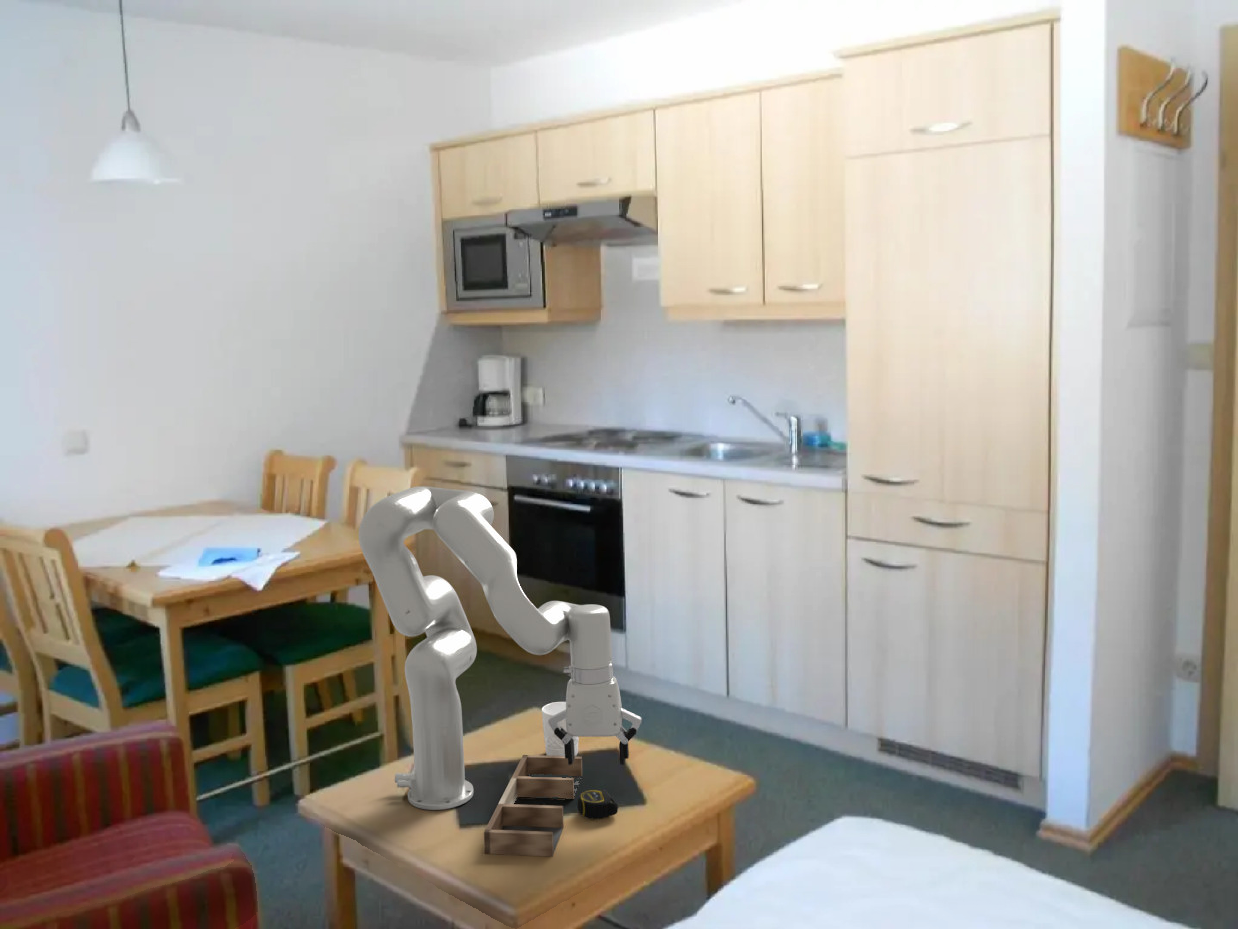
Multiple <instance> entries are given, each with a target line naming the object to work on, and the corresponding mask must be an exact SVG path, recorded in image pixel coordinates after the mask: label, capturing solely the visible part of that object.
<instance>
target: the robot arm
mask: <svg viewBox="0 0 1238 929" xmlns="http://www.w3.org/2000/svg"><path fill="white" fill-rule="evenodd" d="M494 520H495V513H494V508H493V506H492V504H491V501H489V500H488V498H486V497H485V496H484V495H482V494H480V493H478V492H475V491H471V490H462V489H452V488H451V489H450V488H444V487H434V486H433V487H432V486H424V485H422V486H414V487H410V488H406V489H404V490H402V491H399V492H396V493H393V494H390V495H388V496H386V497H384V498H381V499H379V501H377V502H375V503H374V504H373V505H372V506H371V507H370V508H368V510H367V511H366V513H365V514H364V516H363V517H362V519H361V521H360V523H359V527H358V544H359V547H360V549H361V552H362V555H363V557H364V559H365V561H366V563H367V565H368V567H369V569H370V571H371V573H372V576H373V577H374V581H375V584H376V586H377V589H378V591H379V593H380V596H381V598H382V601H383V604H384V606H385V608H386V611H387V613H388V615H389V619H390V621H391V623H392V624H393V626H394V628H395V630H396V631H397V632H398V633H399V634H401V635H403V636H405V637H418V636H420V635H421V634H424V633H425V635H426V638H425V639H423V640H422V641H420V642H418V643H417V644H416V645H415V646H413V648H412V649H411V650H410V652H409V653H408V655H407V656H406V660H405V663H404V676H405V681H406V686H407V689H408V693H409V694H408V695H409V702H410V711H411V714H410V715H411V723H412V742H413V743H412V744H413V745H412V746H413V758H414V759H413V763H414V766H413V767H414V771H412V772H411V773H405V772H396V773H395V775H394V782H395V783H394V784H396V787H397V788H408V789H409V790H408V792H407V800H408V802H409V804H411V805H412V806H414V807H415V808H418V809H421V810H426V811H427V810H428V811H438V810H439V811H440V810H441V811H442V810H448V809H452V808H456V807H459V806H461V805H463V804H465V803H467V802H469V801H470V800H471V799H472V798H473V796H474V786H473V784H472V783H471V782H469V781H468V780H466V779H465V778H466V776H465V773H466V772H465V755H464V754H465V752H464V735H463V734H464V732H463V730H464V729H463V728H464V727H463V715H462V714H463V713H462V703H461V702H462V701H461V699H460V698H461V697H460V694H459V691H458V689H457V685H456V684H457V683H456V680H457V678H458V677H460V676H461V675H462V674H463V673H464V672H465V671H466V670H468V669H469V668H470V667H471V666H472V665H473V663H474V662H475V660H476V657H477V652H478V648H477V642H476V637H475V636H474V633H473V631H472V627H471V625H470V622H469V621H468V617H467V615H466V612H465V609H464V607H463V605H462V602H461V601H460V598H459V595H458V594H457V592H456V589H454V587H453V586H452V585H451V583H450V582H448V580H446V579H444V578H443V577H441V576H438V575H435V574H434V575H423V573H422V570H421V569H420V566H419V564H418V561H417V559H416V557H415V556H414V554H413V553H412V551H411V550H410V549H409V548H408V547H407V546H406V545H405V540H406V539H407V538H409V537H411V536H413V535H416V534H417V533H419V532H422V531H424V530H434V531H435V534H436V535H437V537H438V538H439V540H441V541H442V543H444V545H446V547H447V548H448V549H449V550H450V551H451V552H452V554H453V555H455V557H456V558H457V560H459V561H460V562H461V563H462V564H463V566H465V568H466V569H467V570H469V572H470V573H471V574H472V576H474V577H475V579H476V580H477V581H478V582H479V583H480V585H481V587H482V590H483V592H484V597H485V599H486V601H487V603H488V605H489V608H490V610H491V612H492V614H493V617H494V618H495V620H496V621H497V623H498V624H499V626H501V628H502V629H503V630H504V631H505V632H506V633H507V634H508V635H509V637H510V638H512V640H513V641H514V642H515V643H516V644H517V645H518V646H519V647H521V649H523V650H525V651H526V652H527V653H530V654H532V655H537V656H542V655H547V654H549V653H551V652H552V651H554V649H556V648H557V647H558V646H559V645H560V644H562V643H564V642H566V641H569V647H570V648H569V651H570V652H569V653H570V665H569V666H564V667H563V674H564V675H567V676H569V677H570V679H569V680H568V681H567V686H566V694H565V702H566V709H565V710H563V711H562V712H560V713H558V714H556V715H554V716H552V717H550V718H549V720H548V723H549V725H550V726H551V728H552V730H553V731H554V734H555V735H556V736H557V737H558V738H559V739H561V740H562V743H563V744H564V749H565V758H568V765H571V764H573V761H574V759H575V753H574V739H573V738H572V737H573V736H578V737H579V738H581V737H588V738H589V737H590V738H591V737H594V738H595V737H596V738H597V737H598V738H599V737H601V738H602V737H603V738H604V737H616V738H617V739H618V740H619V744H618V750H619V752H618V753H619V764H620V766H622V765H623V766H624V765H625V763H626V759H627V760H628V759H629V757H630V756H629V755H630V751H629V742H630V741H631V739H632V738H633V737H635V736H636V734H637V732H638V730H639V728H640V726H641V724H642V720H643V719H642V717H641V716H639V715H637V714H635V713H633V712H631V711H628V709H625V708H623V706H622V700H621V692H620V687H619V683H618V679H617V678H616V676H614V673H613V672H614V670H613V655H612V654H613V653H612V652H613V651H612V650H613V649H612V635H611V634H612V633H611V617H610V616H611V615H610V611H609V610H608V608H607V607H605V606H603V605H600V604H589V603H588V604H576V603H572V602H571V603H570V602H567V601H561V600H550V601H547V602H545V603H543V604H542V605H540V606H539V607H538V608H537V607H536V606H535V605H534V604H533V603H532V601H530V599H529V598H528V597H527V595H526V594H525V592H524V591H523V589H522V587H521V586H520V583H519V579H518V574H517V569H518V567H517V564H518V560H517V554H516V552H515V550H514V549H513V548H512V547H511V546H510V545H509V544H508V542H506V541H505V539H503V537H502V536H501V535H500V534H499V533H498V532H497V531H496V530H495V528H494V527H492V525H493V523H494V522H493V521H494ZM565 718H566V730H567V732H566V731H565V730H564V729H563V728H562V727H560V726H559V723H558V722H560V721H562V720H563V719H565ZM624 720H626V721H628V722H630V723H631V724H632V725H631V727H630V728H629V729H628V730H627V729H625V727H624V726H623V721H624Z"/></svg>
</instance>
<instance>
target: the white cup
mask: <svg viewBox="0 0 1238 929" xmlns="http://www.w3.org/2000/svg"><path fill="white" fill-rule="evenodd" d="M565 709H566V701H556V702H551V703H548V704H545V705H543V706H542V708H541V715H542V727H543V728H542V729H543V730H542V731H543V738H544V740H543V741H544V745H545V756H565V749H564V744H563V743H562V740H561V739H559V738H558V737H557V736H556V735H555V734H554V731H553V730H552V728H551V726H550V725H549V723H548V720H549V718H550V717H552V716H554V715H556V714H558V713H560V712H562V711H563V710H565ZM558 723H559V726H560V727H562V728H563V729H564V730H565V731H566V732H567V730H566V718H565V719H563V720H562V721H560V722H558ZM572 738H573V739H574V753H575V756H578V753H579V739H580V737H578V736H573V737H572Z"/></svg>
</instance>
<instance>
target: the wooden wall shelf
mask: <svg viewBox="0 0 1238 929" xmlns="http://www.w3.org/2000/svg"><path fill="white" fill-rule="evenodd" d="M528 774H530V776H529V775H528ZM532 774H537V775H538V774H544V775H546V774H552V775H568V776H572V777H571V778H570V777H566V778H562V777H531V775H532ZM577 776H578V777H577ZM580 776H582V777H583V757H582V756H578V755H576V756H575V759H574V761H573V764H571V765H568V758H565V756H547V755H541V754H540V755H539V754H538V755H537V754H535V755H533V754H532V755H531V754H523V755H522V757H521V759H520V761H519V762H518V764H517V766H516V768H515V770H514V772H513V774H512V776H511V778H510V780H509V782H508V784H507V785H506V788H505V790H504V792H503V794H502V796H501V798H500V800H499V802H498V804H497V805H496V808H495V809H494V811H493V814H492V816H491V818H490V820H489V822H488V823H487V826H486V827H485V829H484V832H483V840H484V841H483V842H484V843H483V844H484V854H487V855H506V856H507V855H509V856H510V855H511V856H530V857H531V856H536V857H554V854H555V851H556V849H557V845H558V843H559V841H560V838H561V835H562V832H563V829H564V824H565V822H564V806H563V805H549V804H548V805H546V804H542V805H540V804H514V803H516V802H515V801H517V799H518V798H517V797H550V798H552V797H558V798H566V799H574V800H575V797H576V794H577V792H578V789H577V788H576V789H574V785H580V783H578V782H579V781H576V782H575V783H574V779H579V778H580ZM580 779H581V780H582V778H580ZM574 791H575V793H576V794H575V793H574ZM576 791H577V792H576ZM574 796H575V797H574ZM516 798H517V799H516Z"/></svg>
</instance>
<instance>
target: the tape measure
mask: <svg viewBox="0 0 1238 929" xmlns="http://www.w3.org/2000/svg"><path fill="white" fill-rule="evenodd" d="M576 805H577V811H578V813H579V814H580V815H581V816H582V817H584V818H585V819H590V820H602V819H605V818H609V817H611V816H615V815H616V814H618V810H619V806H618V804H617V802H616V800H615V799H614V798H613V797H612V796H611V795H610V793H609V792H608V790H606V789H605V788H600V789H599V790H598V789H590V790H585V791H584V792H582V793H580V794H579V796H578V798H577V804H576Z"/></svg>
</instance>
